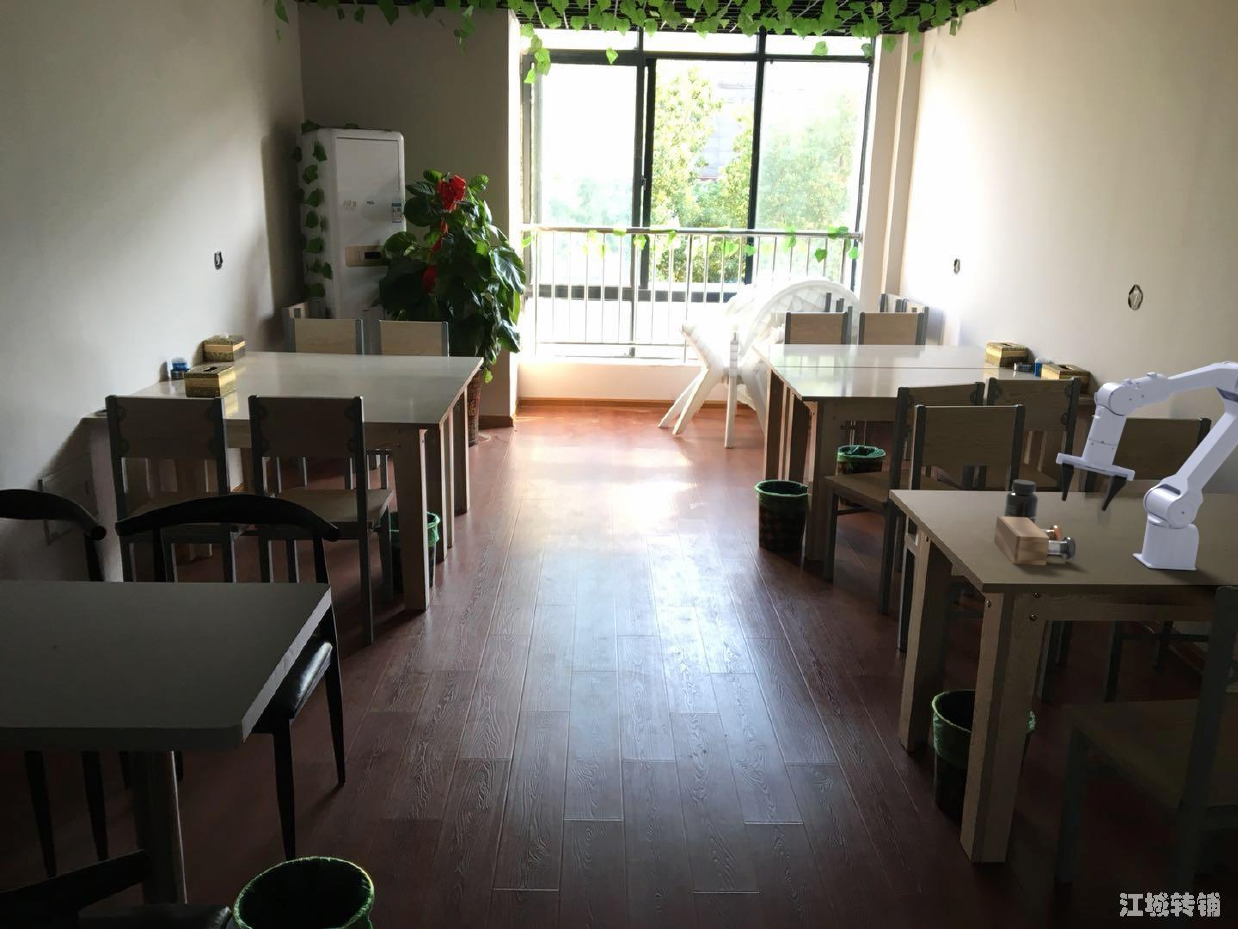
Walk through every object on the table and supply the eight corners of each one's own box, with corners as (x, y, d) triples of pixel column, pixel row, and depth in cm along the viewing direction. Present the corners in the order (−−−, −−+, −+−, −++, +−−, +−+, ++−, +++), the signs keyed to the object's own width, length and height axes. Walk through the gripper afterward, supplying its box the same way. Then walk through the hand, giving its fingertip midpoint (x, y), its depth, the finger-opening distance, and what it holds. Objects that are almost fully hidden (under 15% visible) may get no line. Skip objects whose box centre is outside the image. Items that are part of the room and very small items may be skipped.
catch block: (1024, 543, 217) (1027, 517, 216) (1045, 565, 204) (1049, 537, 202) (994, 542, 218) (997, 516, 216) (1013, 563, 204) (1017, 536, 203)
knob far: (1052, 542, 216) (1055, 522, 215) (1060, 549, 212) (1063, 529, 211) (1021, 541, 217) (1023, 521, 215) (1027, 548, 212) (1030, 527, 211)
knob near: (1065, 555, 208) (1068, 534, 207) (1073, 562, 204) (1076, 541, 203) (1032, 553, 209) (1035, 532, 208) (1040, 560, 204) (1042, 539, 203)
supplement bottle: (1036, 538, 221) (1043, 487, 218) (1004, 536, 222) (1011, 484, 219) (1030, 529, 228) (1037, 479, 225) (999, 526, 229) (1005, 477, 226)
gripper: (1066, 435, 198) (1047, 499, 202) (1144, 453, 194) (1123, 518, 197) (1063, 431, 205) (1045, 493, 208) (1139, 448, 201) (1119, 511, 204)
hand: (1083, 505), depth 203 cm, fingers open, 7 cm apart
